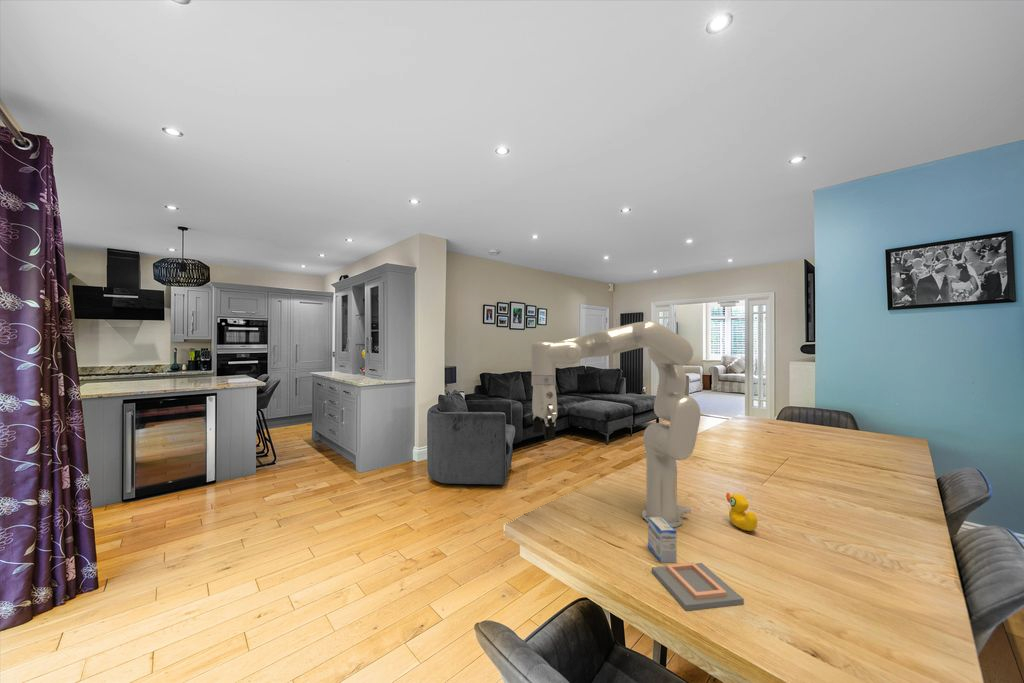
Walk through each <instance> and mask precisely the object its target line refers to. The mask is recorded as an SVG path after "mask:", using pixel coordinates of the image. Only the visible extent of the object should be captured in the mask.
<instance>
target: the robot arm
mask: <svg viewBox="0 0 1024 683" xmlns="http://www.w3.org/2000/svg"><path fill="white" fill-rule="evenodd" d="M641 348H648V350H647V352H648V356H649V358H650V359H651V360H650V361H652V363H653V364H654V365H655V367H656V369H657V371H658V374H659V379H658V385H657V388H656V389H657V390H656V395H655V399H654V404H653V412H654V413H655V415H656V417H657V418H659V419H661V420H663V421H667V422H670V423H669V425H668V424H665V423H663V422H662V423H660V422H655V423H651V424H650V425H648V426H647V427H646V428H645V430H644V433H643V444H644V450H645V457H646V458H645V461H646V471H645V473H646V478H645V480H646V508H644V509H643V510H642V511H641V518H642V519H643V518H644V519H645V520H646V522H647V523H648V518H652V517H661V518H663V519H664V520H665V521H666V522H667V523H669V524H670V525H671V526H672V527H673V528H677V527H680V526H681V525H683V514H692V509H691V508H690V506H687V507H683V505H682V504H678V465H677V461H678V462H679V461H686V460H687V459H688V458H690V457H691V455H692V454H693V452H694V449H695V447H696V441H697V437H698V436H697V435H698V432H699V431H698V430H699V426H700V421H701V407H700V405H699V403H698V401H696V399H695V398H693V397H691V396H689V395H686V394H685V393H686V387H687V373H686V371H685V368H684V366H685V365H687V364H688V363H690V362H691V360H692V359H693V355H694V349H693V347H692V344H691V343H690V342H689V341H688V340H686V339H685V338H684V337H682V336H680V335H679V334H678V333H676V332H674V331H673V330H672V329H669V328H668V327H666V326H664V325H663V324H661V323H659V322H657V321H654V320H646V321H639V322H638V321H637V322H632V323H628V324H624V325H620V326H616V327H611V328H607V329H604V330H599V331H595V332H593V333H588V334H585V335H580V336H575V337H571V338H568V339H563V340H560V341H556V342H553V341H535V342H533V343H532V344H531V349H530V350H531V352H530V353H531V387H532V398H531V400H532V404H531V409H532V410H531V411H532V432H533V433H535V434H537V433H539V434H540V433H543V430H544V440H546V441H550V440H555V439H556V422H557V418H558V400H557V398H558V397H557V391H556V386H557V385H556V382H557V380H556V364H558V365H567V366H572V365H574V364H577V363H578V362H580V360H581V359H587V358H593V357H594V358H598V357H600V358H602V357H608V356H613V355H617V354H620V353H624V352H629V351H633V350H636V349H641ZM543 420H544V423H545V425H544V423H543ZM543 425H544V426H543ZM543 427H544V428H543ZM644 519H643V520H644ZM645 520H644V521H645Z"/></svg>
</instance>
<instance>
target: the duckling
mask: <svg viewBox="0 0 1024 683" xmlns="http://www.w3.org/2000/svg"><path fill="white" fill-rule="evenodd" d="M725 495H726V496H725V497H726V500H727V502H728V503H729V505H730V507H731V508H730V509H729V511H728V517H729V520H731V523H732V524H733V525H734V526H735V527H737V528H739V529H741V530H742V531H748V532H751V531H752V532H753V531H755V530H756V529H757V527H758V518H757V516H756V514H755V513H754V512H752V511H748V512H747V513H746V511H747V510H748V508H749V502H748V500H747V498H746V497H745V496H744V495H742V494H739V493H735V494H730V492H726V494H725Z"/></svg>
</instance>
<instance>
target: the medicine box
mask: <svg viewBox="0 0 1024 683" xmlns="http://www.w3.org/2000/svg"><path fill="white" fill-rule="evenodd" d="M647 529H648V530H647V548H648V549H649V551H650V552H652V554H653V555H654V556H655V557H656V559H658V561H659V562H660V563H661V564H676V563H677V561H678V560H677V558H678V557H677V556H678V554H677V552H678V551H677V550H678V549H677V548H678V546H677V544H678V543H677V541H678V540H677V537H678V532H677V530H676V529H675V527H672V526H671V525H670V524H669V523H667V522H666V521H665V520H664V519H663V518H661V517H652V518H648V522H647Z"/></svg>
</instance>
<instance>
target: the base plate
mask: <svg viewBox="0 0 1024 683" xmlns="http://www.w3.org/2000/svg"><path fill="white" fill-rule="evenodd" d="M651 574H653V575H654V577H655V578H656V579H657V580H658V581H659V582H660V583H661V585H662V586H664V587H665V589H666V590H667V591H668V592H669V593H670V595H671V596H672V597H673V598H674V599H675V600H676V601H677V603H678V604H679V605H680V606H681V607H682V608H683V609H684V610H685V611H686V612H690V611H696V610H697V611H699V610H705V609H707V610H708V609H715V608H716V609H717V608H724V607H731V606H732V607H733V606H742V605H744V604H745V603H744V602H745V600H744V597H742V596H741V595H740V594H739V593H738V592H736V591H735V590H734V589H733V588H732V587H731V586H729V585H728V584H727V583H726V582H725V581H724V580H722V579H721V578H720V577H719V576H717V574H715V573H714V572H713V571H712V570H711V569H710V568H708V567H707V566H706V565H705V564H704V563H703V562H696V563H694V562H685V563H677V564H676V563H672V564H666V565H663V566H655V567H651Z"/></svg>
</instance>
